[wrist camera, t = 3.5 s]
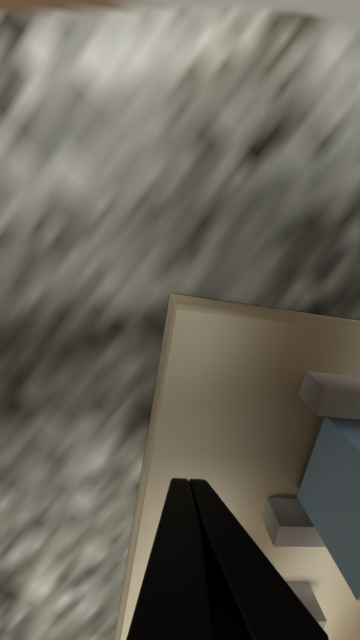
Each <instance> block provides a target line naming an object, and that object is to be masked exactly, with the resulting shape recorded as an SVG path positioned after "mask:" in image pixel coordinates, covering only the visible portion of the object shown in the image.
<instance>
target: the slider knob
mask: <svg viewBox="0 0 360 640" xmlns="http://www.w3.org/2000/svg"><path fill="white" fill-rule="evenodd" d="M297 497H298V499H299V501H300V503H301V504H302V506H303V508H304V510H305V511H306V513H307V515H308V517H309V518H310V520H311V522H312V524H313V525H314V527H315V529H316V530H317V532H318V534H319V536H320V537H321V539H322V541H323V543H324V544H325V546H326V548H327V550H328V551H329V553H330V555H331V557H332V558H333V560H334V562H335V563H336V565H337V567H338V569H339V570H340V572H341V574H342V576H343V577H344V579H345V581H346V583H347V584H348V586H349V588H350V590H351V591H352V593H353V595H354V596H355V598H356V600H360V419H348V418H337V417H325V416H324V419H323V422H322V425H321V428H320V431H319V434H318V437H317V440H316V443H315V446H314V449H313V451H312V454H311V457H310V460H309V463H308V466H307V469H306V472H305V475H304V478H303V481H302V484H301V486H300V489H299V492H298V495H297Z"/></svg>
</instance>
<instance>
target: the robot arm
mask: <svg viewBox="0 0 360 640" xmlns="http://www.w3.org/2000/svg"><path fill="white" fill-rule="evenodd" d="M126 640H329V637H328V635H327V633H326V632H325V631H324V630H323V628H322V627H321V626H320V625H319V623H318V622H317V621H316V619H315V618H314V617H313V616H312V614H311V613H310V612H309V610H308V609H307V608H306V607H305V605H304V604H303V603H302V602H301V600H300V599H299V598H298V596H297V595H296V594H295V593H294V591H293V590H292V589H291V588H290V586H289V585H288V584H287V582H286V581H285V580H284V579H283V577H282V576H281V575H280V573H279V572H278V571H277V570H276V568H275V567H274V566H273V565H272V563H271V562H270V561H269V559H268V558H267V557H266V556H265V554H264V553H263V552H262V550H261V549H260V548H259V547H258V545H257V544H256V543H255V542H254V540H253V539H252V538H251V536H250V535H249V534H248V533H247V531H246V530H245V529H244V528H243V526H242V525H241V524H240V522H239V521H238V520H237V519H236V517H235V516H234V515H233V513H232V512H231V511H230V510H229V508H228V507H227V506H226V505H225V503H224V502H223V501H222V499H221V498H220V497H219V496H218V494H217V493H216V492H215V490H214V489H213V488H212V487H211V485H210V484H209V483H208V482H207V481H206V480H204V479H190V480H189V481H188V479H186V478H172V479H171V481H170V484H169V488H168V492H167V495H166V499H165V502H164V506H163V509H162V513H161V517H160V520H159V524H158V527H157V531H156V534H155V538H154V542H153V545H152V549H151V552H150V556H149V560H148V563H147V567H146V570H145V574H144V577H143V581H142V585H141V588H140V592H139V595H138V599H137V603H136V606H135V610H134V613H133V617H132V620H131V624H130V628H129V631H128V635H127V638H126Z"/></svg>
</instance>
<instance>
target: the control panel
mask: <svg viewBox="0 0 360 640" xmlns="http://www.w3.org/2000/svg"><path fill="white" fill-rule="evenodd" d="M324 416H325V417H337V418H348V419H360V321H359V320H352V319H345V318H338V317H331V316H324V315H317V314H310V313H303V312H296V311H289V310H282V309H275V308H268V307H262V306H255V305H248V304H241V303H234V302H227V301H220V300H213V299H206V298H199V297H192V296H185V295H178V294H171V293H170V297H169V303H168V310H167V316H166V322H165V328H164V334H163V341H162V347H161V353H160V359H159V365H158V372H157V378H156V384H155V390H154V396H153V402H152V409H151V415H150V421H149V427H148V433H147V440H146V446H145V452H144V458H143V464H142V471H141V477H140V483H139V489H138V495H137V501H136V508H135V514H134V520H133V526H132V532H131V539H130V545H129V551H128V557H127V563H126V570H125V576H124V582H123V588H122V594H121V600H120V607H119V613H118V619H117V625H116V631H115V638H114V640H126V638H127V635H128V631H129V628H130V624H131V620H132V617H133V613H134V610H135V606H136V603H137V599H138V595H139V592H140V588H141V585H142V581H143V577H144V574H145V570H146V567H147V563H148V560H149V556H150V552H151V549H152V545H153V542H154V538H155V534H156V531H157V527H158V524H159V520H160V517H161V513H162V509H163V506H164V502H165V499H166V495H167V492H168V488H169V484H170V481H171V479H172V478H186V479H188V481H189V480H190V479H204V480H206V481H207V482H208V483H209V484H210V485H211V487H212V488H213V489H214V490H215V492H216V493H217V494H218V496H219V497H220V498H221V499H222V501H223V502H224V503H225V505H226V506H227V507H228V508H229V510H230V511H231V512H232V513H233V515H234V516H235V517H236V519H237V520H238V521H239V522H240V524H241V525H242V526H243V528H244V529H245V530H246V531H247V533H248V534H249V535H250V536H251V538H252V539H253V540H254V542H255V543H256V544H257V545H258V547H259V548H260V549H261V550H262V552H263V553H264V554H265V556H266V557H267V558H268V559H269V561H270V562H271V563H272V565H273V566H274V567H275V568H276V570H277V571H278V572H279V573H280V575H281V576H282V577H283V579H284V580H285V581H286V582H287V584H288V585H289V586H290V588H291V589H292V590H293V591H294V593H295V594H296V595H297V596H298V598H299V599H300V600H301V602H302V603H303V604H304V605H305V607H306V608H307V609H308V610H309V612H310V613H311V614H312V616H313V617H314V618H315V619H316V621H317V622H318V623H319V625H320V626H321V627H322V628H323V630H324V631H325V632H326V633H327V635H328V637H329V640H360V600H356V598H355V596H354V595H353V593H352V591H351V590H350V588H349V586H348V584H347V583H346V581H345V579H344V577H343V576H342V574H341V572H340V570H339V569H338V567H337V565H336V563H335V562H334V560H333V558H332V557H331V555H330V553H329V551H328V550H327V548H326V546H325V544H324V543H323V541H322V539H321V537H320V536H319V534H318V532H317V530H316V529H315V527H314V525H313V524H312V522H311V520H310V518H309V517H308V515H307V513H306V511H305V510H304V508H303V506H302V504H301V503H300V501H299V499H298V497H297V495H298V492H299V489H300V486H301V484H302V481H303V478H304V475H305V472H306V469H307V466H308V463H309V460H310V457H311V454H312V451H313V449H314V446H315V443H316V440H317V437H318V434H319V431H320V428H321V425H322V422H323V419H324Z"/></svg>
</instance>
